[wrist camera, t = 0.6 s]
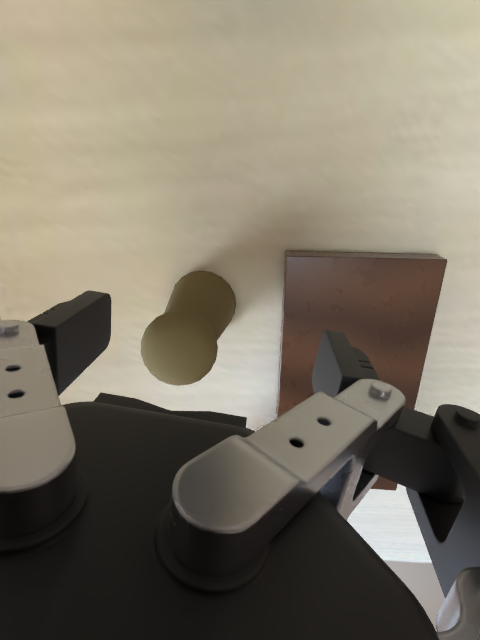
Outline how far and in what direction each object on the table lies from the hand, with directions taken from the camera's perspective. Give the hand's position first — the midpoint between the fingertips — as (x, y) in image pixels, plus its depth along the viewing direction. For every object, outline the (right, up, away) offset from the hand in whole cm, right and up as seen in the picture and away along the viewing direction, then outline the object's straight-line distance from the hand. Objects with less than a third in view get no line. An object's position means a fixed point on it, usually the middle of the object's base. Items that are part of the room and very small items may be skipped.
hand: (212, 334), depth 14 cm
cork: (-2, +2, +20) cm, 20 cm away
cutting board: (+11, -5, +22) cm, 25 cm away
